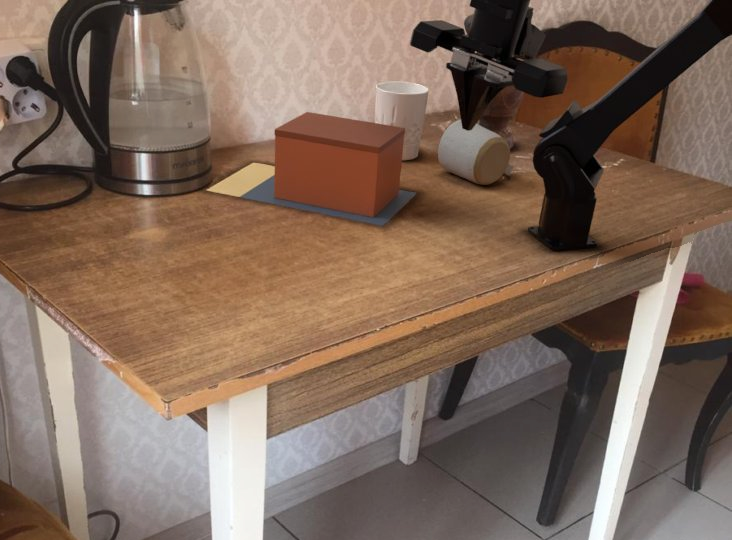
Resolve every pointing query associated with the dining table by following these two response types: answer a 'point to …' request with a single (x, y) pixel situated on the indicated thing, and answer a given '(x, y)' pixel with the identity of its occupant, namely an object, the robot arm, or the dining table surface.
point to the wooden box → (338, 163)
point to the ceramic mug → (474, 153)
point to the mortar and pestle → (500, 105)
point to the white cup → (403, 111)
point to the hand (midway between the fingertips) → (467, 129)
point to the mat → (260, 187)
